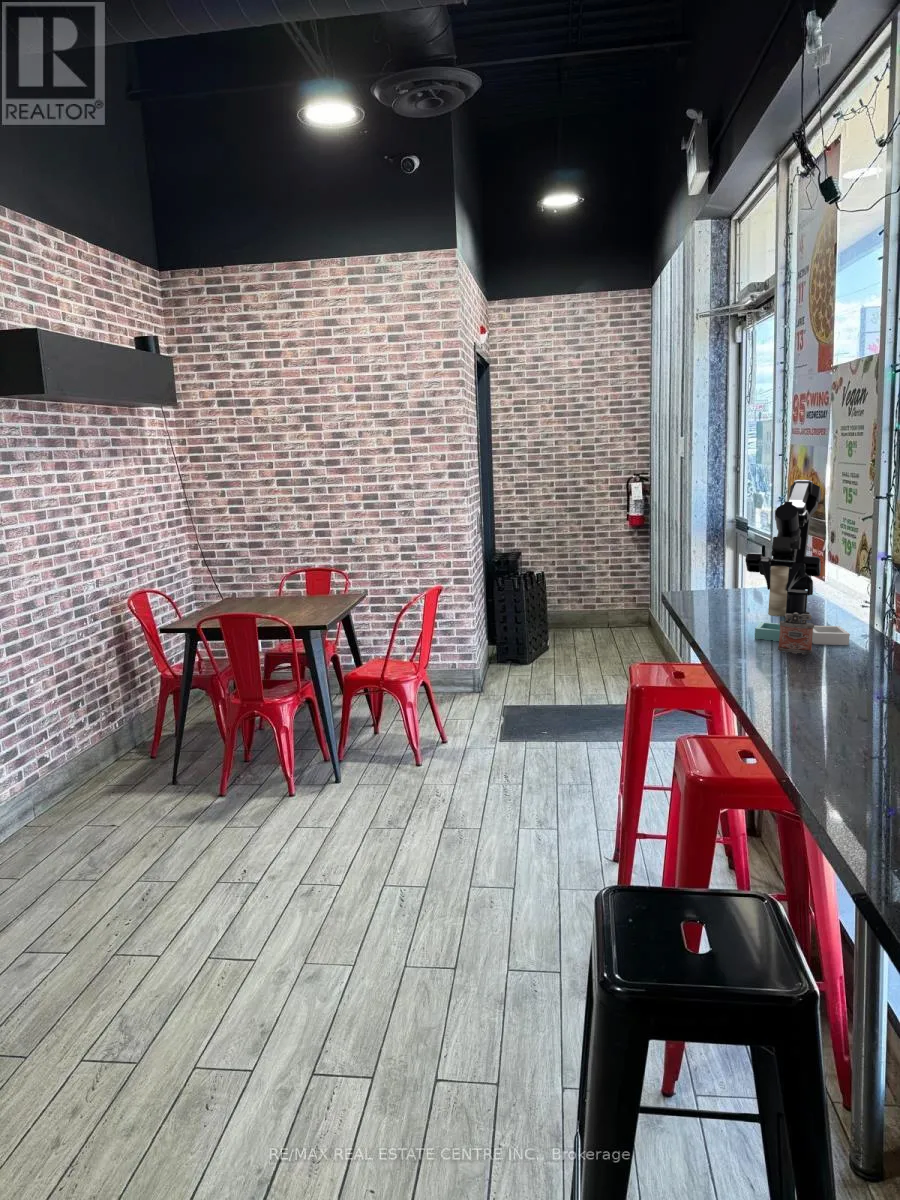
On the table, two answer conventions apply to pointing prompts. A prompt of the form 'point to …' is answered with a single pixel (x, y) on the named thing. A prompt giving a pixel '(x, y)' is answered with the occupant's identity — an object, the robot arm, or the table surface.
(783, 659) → the table surface
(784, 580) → the peg
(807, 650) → the lighter
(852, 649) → the table surface
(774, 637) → the teal socket
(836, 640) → the grey socket
